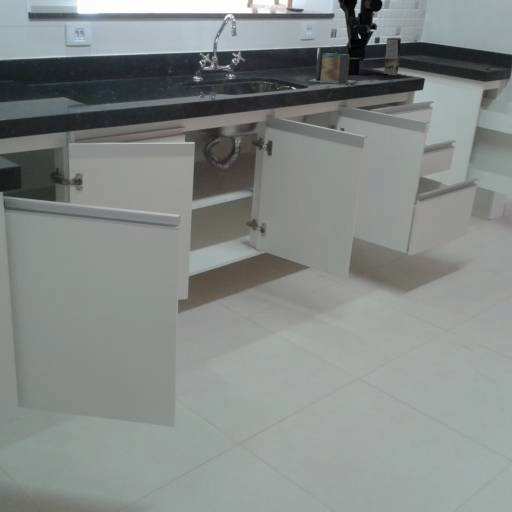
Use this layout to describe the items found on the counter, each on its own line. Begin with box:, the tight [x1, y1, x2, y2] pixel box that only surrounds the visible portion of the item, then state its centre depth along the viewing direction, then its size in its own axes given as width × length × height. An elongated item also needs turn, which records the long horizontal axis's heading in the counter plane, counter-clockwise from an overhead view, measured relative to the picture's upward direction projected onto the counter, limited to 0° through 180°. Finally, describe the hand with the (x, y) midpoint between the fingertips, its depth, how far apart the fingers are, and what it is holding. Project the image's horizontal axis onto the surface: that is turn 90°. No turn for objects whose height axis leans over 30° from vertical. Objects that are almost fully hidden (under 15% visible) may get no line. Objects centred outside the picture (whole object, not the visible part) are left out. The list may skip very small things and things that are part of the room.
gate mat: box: [308, 77, 357, 85], centre depth 307 cm, size 18×11×1 cm, turn 67°
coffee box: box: [383, 37, 402, 76], centre depth 334 cm, size 9×6×16 cm
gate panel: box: [321, 52, 350, 81], centre depth 302 cm, size 12×1×11 cm, turn 67°
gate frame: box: [315, 47, 350, 84], centre depth 302 cm, size 14×2×14 cm, turn 59°
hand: (363, 47), depth 318 cm, fingers closed
